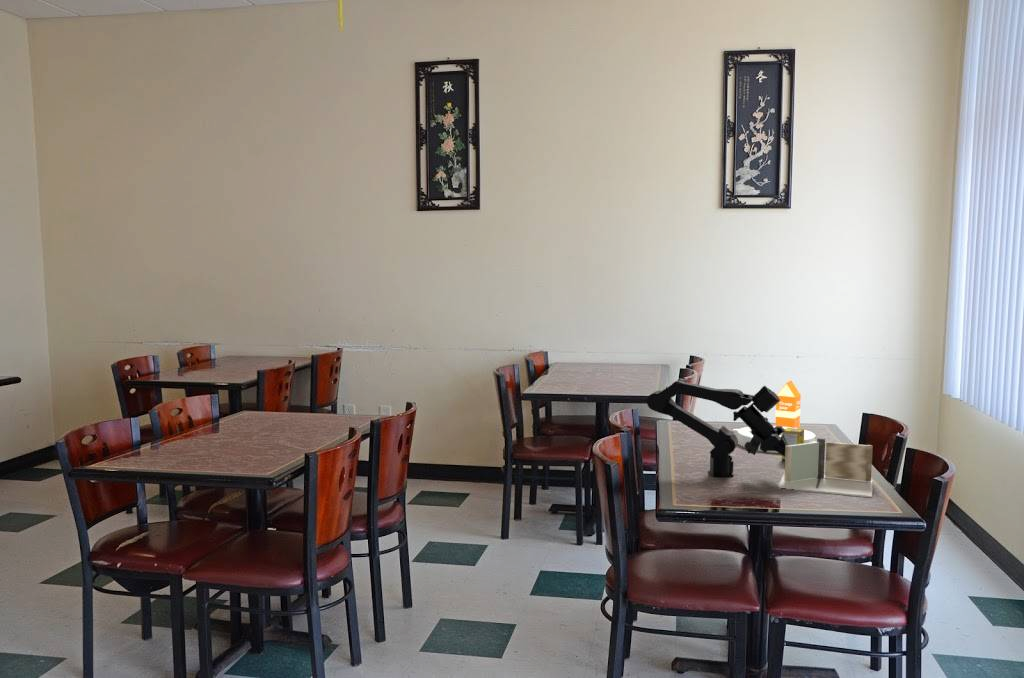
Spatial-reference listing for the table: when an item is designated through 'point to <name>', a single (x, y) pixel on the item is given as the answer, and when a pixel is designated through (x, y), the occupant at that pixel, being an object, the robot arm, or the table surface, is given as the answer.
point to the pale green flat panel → (801, 461)
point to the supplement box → (793, 437)
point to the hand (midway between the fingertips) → (791, 459)
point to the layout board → (830, 486)
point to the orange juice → (788, 407)
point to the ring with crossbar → (746, 435)
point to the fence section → (845, 461)
